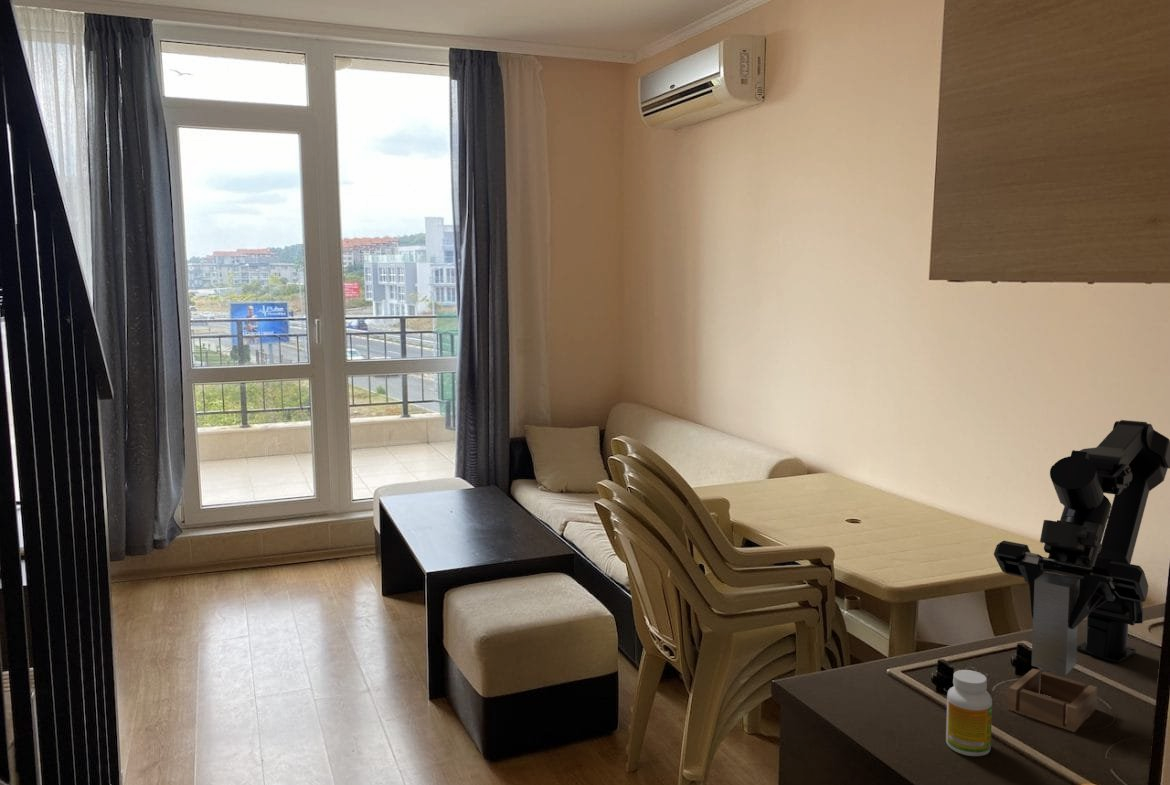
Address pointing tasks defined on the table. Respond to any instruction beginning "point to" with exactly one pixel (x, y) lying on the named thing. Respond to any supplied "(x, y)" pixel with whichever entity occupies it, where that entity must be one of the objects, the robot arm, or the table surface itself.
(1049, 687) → the wooden square frame
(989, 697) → the supplement bottle
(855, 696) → the table surface
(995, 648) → the table surface
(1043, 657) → the steel square block
